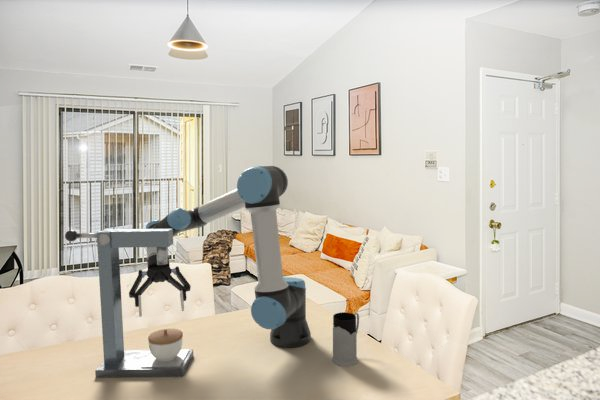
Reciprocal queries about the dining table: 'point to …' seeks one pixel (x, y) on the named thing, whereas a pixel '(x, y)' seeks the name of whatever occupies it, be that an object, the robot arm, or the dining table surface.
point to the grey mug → (345, 339)
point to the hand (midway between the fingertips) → (162, 312)
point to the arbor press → (111, 305)
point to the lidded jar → (165, 344)
